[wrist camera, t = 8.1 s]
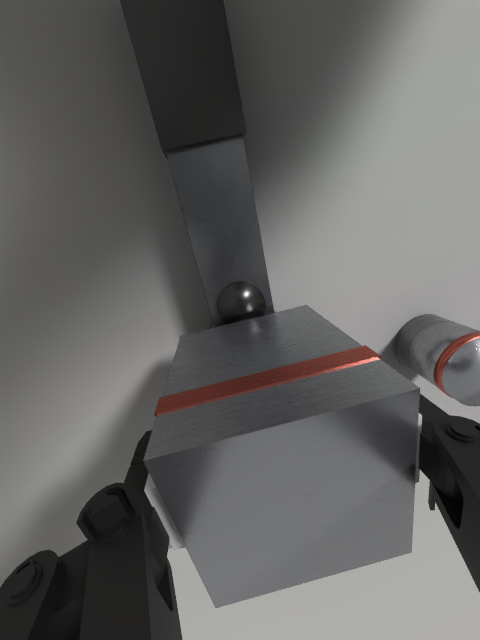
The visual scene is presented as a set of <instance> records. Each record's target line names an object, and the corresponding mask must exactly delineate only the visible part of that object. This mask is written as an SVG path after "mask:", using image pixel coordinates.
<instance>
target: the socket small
mask: <svg viewBox="0 0 480 640" xmlns="http://www.w3.org/2000/svg"><path fill="white" fill-rule="evenodd" d="M394 354H395V357H396V358H397V360H398V361H399V362H401V363H402V364H404V365H405V366H407V367H408V368H409V369H411V370H412V371H414V372H415V373H417V374H418V375H420V376H421V377H423V378H424V379H426V380H427V381H429V382H430V383H432V384H433V385H435V386H436V387H438V388H439V389H440V390H441V391H442V392H444V393H445V394H447V395H448V396H450V397H452V398H454V399H456V400H457V401H459V402H460V403H462V404H464V405H467V406H480V331H478V330H475V329H473V328H470V327H467V326H464V325H461V324H458V323H456V322H453V321H450V320H447V319H444V318H442V317H439V316H436V315H432V314H424V315H420V316H417V317H415V318H413V319H411V320H410V321H408V322H407V323H406V324H405V325H404V326H403V327H402V328H401V329H400V331H399V332H398V334H397V336H396V338H395V341H394Z"/></svg>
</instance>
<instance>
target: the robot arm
mask: <svg viewBox="0 0 480 640" xmlns="http://www.w3.org/2000/svg"><path fill="white" fill-rule="evenodd" d="M151 433H152V430H151V431H147V432H146V433H145V434H144V436H143V437H142V438H141V440H140V441H139V442H138V445H137V447H136V450H135V453H134V457H133V459H132V462H131V464H130V465H131V467H129V470H128V473H127V476H126V478H125V481H124V483H114V484H111V485H109V486H106V487H105V488H103V489H102V490H100V491H99V492H97V493H96V494H95V495H94V496H93V497H92V498H91V499H90V500H89V501H88V502H87V503H86V505H85V506H84V508H83V509H82V511H81V512H80V514H79V517H78V520H77V523H76V524H77V525H78V526H79V528H80V529H81V531H82V532H83V534H84V535H85V536H86V538H87V539H88V540H87V541H86V542H84V543H82V544H81V545H79V546H77V547H76V548H74V549H72V550H71V551H69V552H67V553H66V554H64V555H62V556H61V557H58V556H57V554H56V553H54V552H53V551H51V550H45V551H40V552H38V553H36V554H35V555H33V556H31V557H29V558H28V559H27V560H25V561H24V562H23V563H22V564H20V565H19V566H18V567H17V568H16V569H15V570H14V571H13V572H12V573H11V575H10V576H9V577H8V578H7V579H6V580H5V581H4V583H3V584H2V586H1V587H0V640H182V634H181V628H180V621H179V615H178V609H177V602H176V596H175V589H174V583H173V576H172V570H171V566H170V563H169V561H168V558H167V552H168V545H169V540H170V542H171V544H172V546H173V548H174V550H177V549H181V548H184V547H185V545H184V543H183V541H182V539H181V537H180V535H179V533H178V531H177V528H176V526H175V524H174V522H173V520H172V518H171V516H170V514H169V512H168V510H167V508H166V506H165V504H164V502H163V500H162V498H161V496H160V494H159V492H158V490H157V488H156V486H155V484H154V482H153V480H152V478H151V476H150V474H149V472H148V470H147V468H146V466H145V463H144V461H143V460H144V456H145V453H146V450H147V446H148V443H149V440H150V436H151ZM420 470H421V471H422V472H423V473H424V474H425V475H426V476H427V477H428V479H429V480H430V486H429V500H428V502H429V507H430V510H435V502H436V504H437V506H438V508H439V510H440V512H441V514H442V516H443V518H444V520H445V522H446V524H447V526H448V528H449V530H450V533H451V535H452V536H453V539H454V541H455V543H456V545H457V547H458V549H459V551H460V553H461V555H462V557H463V559H464V561H465V563H466V565H467V567H468V569H469V571H470V573H471V575H472V578H473V580H474V582H475V584H476V586H477V588H478V590H479V592H480V424H479V423H477V422H475V421H473V420H471V419H467V418H464V417H460V416H449V415H448V414H447V413H445V412H444V411H443V410H441V409H440V408H439V407H437V406H436V405H435V404H433V403H432V402H431V401H429V400H428V399H427V398H425V397H424V396H423V395H421V394H420V398H419V417H418V436H417V456H416V475H415V483H417V482H419V471H420Z"/></svg>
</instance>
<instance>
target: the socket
mask: <svg viewBox="0 0 480 640" xmlns="http://www.w3.org/2000/svg"><path fill="white" fill-rule="evenodd" d="M419 398H420V388H419V387H418V386H416V385H415V384H414V383H412V382H411V381H409V380H408V379H407V378H405V377H404V376H403V375H401V374H400V373H399V372H397V371H396V370H394V369H393V368H392V367H390V366H389V365H388V364H386V363H385V362H384V361H382V360H381V359H380V355H378V354H377V353H375V352H374V351H373V350H371V349H370V348H368V347H367V346H366V345H365V346H362V345H360V344H359V343H358V342H356V341H355V340H354V339H352V338H351V337H349V336H348V335H347V334H345V333H344V332H343V331H341V330H340V329H339V328H337V327H336V326H334V325H333V324H332V323H330V322H329V321H328V320H326V319H325V318H324V317H322V316H321V315H319V314H318V313H317V312H315V311H314V310H313V309H311V308H310V307H309V306H307V305H304V306H300V307H296V308H292V309H288V310H284V311H280V312H276V313H272V314H268V315H264V316H260V317H256V318H252V319H248V320H244V321H240V322H235V323H231V324H227V325H223V326H219V327H215V328H211V329H207V330H203V331H199V332H195V333H191V334H187V335H183V336H180V340H179V343H178V346H177V350H176V353H175V356H174V360H173V363H172V366H171V370H170V373H169V376H168V380H167V383H166V386H165V390H164V393H163V396H162V397H161V398H159V401H158V405H157V408H156V411H155V416H156V420H155V423H154V426H153V430H152V433H151V436H150V440H149V443H148V446H147V450H146V453H145V456H144V460H143V461H144V463H145V466H146V468H147V470H148V472H149V474H150V476H151V478H152V480H153V482H154V484H155V486H156V488H157V490H158V492H159V494H160V496H161V498H162V500H163V502H164V504H165V506H166V508H167V510H168V512H169V514H170V516H171V518H172V520H173V522H174V524H175V526H176V528H177V531H178V533H179V535H180V537H181V539H182V541H183V543H184V545H185V547H186V549H187V551H188V553H189V555H190V557H191V559H192V561H193V563H194V565H195V567H196V569H197V571H198V573H199V575H200V577H201V579H202V581H203V583H204V585H205V587H206V589H207V591H208V593H209V595H210V597H211V600H212V601H213V603H214V606H215V608H218V607H222V606H225V605H229V604H232V603H236V602H239V601H243V600H246V599H250V598H253V597H257V596H260V595H264V594H267V593H271V592H274V591H277V590H281V589H285V588H288V587H292V586H295V585H299V584H302V583H306V582H309V581H313V580H316V579H320V578H323V577H327V576H330V575H334V574H337V573H341V572H345V571H348V570H351V569H355V568H358V567H362V566H365V565H369V564H373V563H376V562H380V561H383V560H386V559H390V558H394V557H397V556H401V555H404V554H408V553H411V551H412V532H413V512H414V494H415V475H416V456H417V436H418V417H419Z"/></svg>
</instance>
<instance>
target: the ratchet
mask: <svg viewBox="0 0 480 640" xmlns="http://www.w3.org/2000/svg"><path fill="white" fill-rule="evenodd" d="M120 1H121V5H122V8H123V12H124V15H125V19H126V22H127V26H128V30H129V33H130V37H131V40H132V44H133V47H134V51H135V55H136V58H137V62H138V65H139V69H140V72H141V76H142V80H143V83H144V87H145V90H146V94H147V97H148V101H149V105H150V108H151V112H152V115H153V119H154V122H155V126H156V130H157V133H158V137H159V140H160V144H161V147H162V151H163V152H164V154H165V156H166V158H167V159H168V161H169V165H170V168H171V172H172V175H173V179H174V183H175V186H176V190H177V194H178V197H179V201H180V204H181V208H182V212H183V215H184V219H185V223H186V226H187V230H188V233H189V237H190V241H191V244H192V248H193V252H194V255H195V259H196V262H197V266H198V270H199V273H200V277H201V281H202V284H203V288H204V291H205V295H206V299H207V302H208V306H209V309H210V313H211V317H212V320H213V322H212V323H211V325H210V327H209V329H211V328H215V327H219V326H223V325H227V324H231V323H235V322H240V321H244V320H248V319H252V318H256V317H260V316H264V315H268V314H272V313H276V312H275V311H274V309H273V303H272V298H271V292H270V286H269V281H268V275H267V270H266V264H265V258H264V253H263V247H262V241H261V236H260V230H259V225H258V219H257V213H256V208H255V202H254V196H253V191H252V185H251V180H250V174H249V168H248V163H247V157H246V151H245V146H244V140H243V139H244V136H245V134H246V129H245V123H244V118H243V112H242V106H241V100H240V94H239V89H238V83H237V77H236V71H235V66H234V60H233V54H232V48H231V42H230V37H229V31H228V25H227V19H226V14H225V8H224V2H223V0H120Z"/></svg>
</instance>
